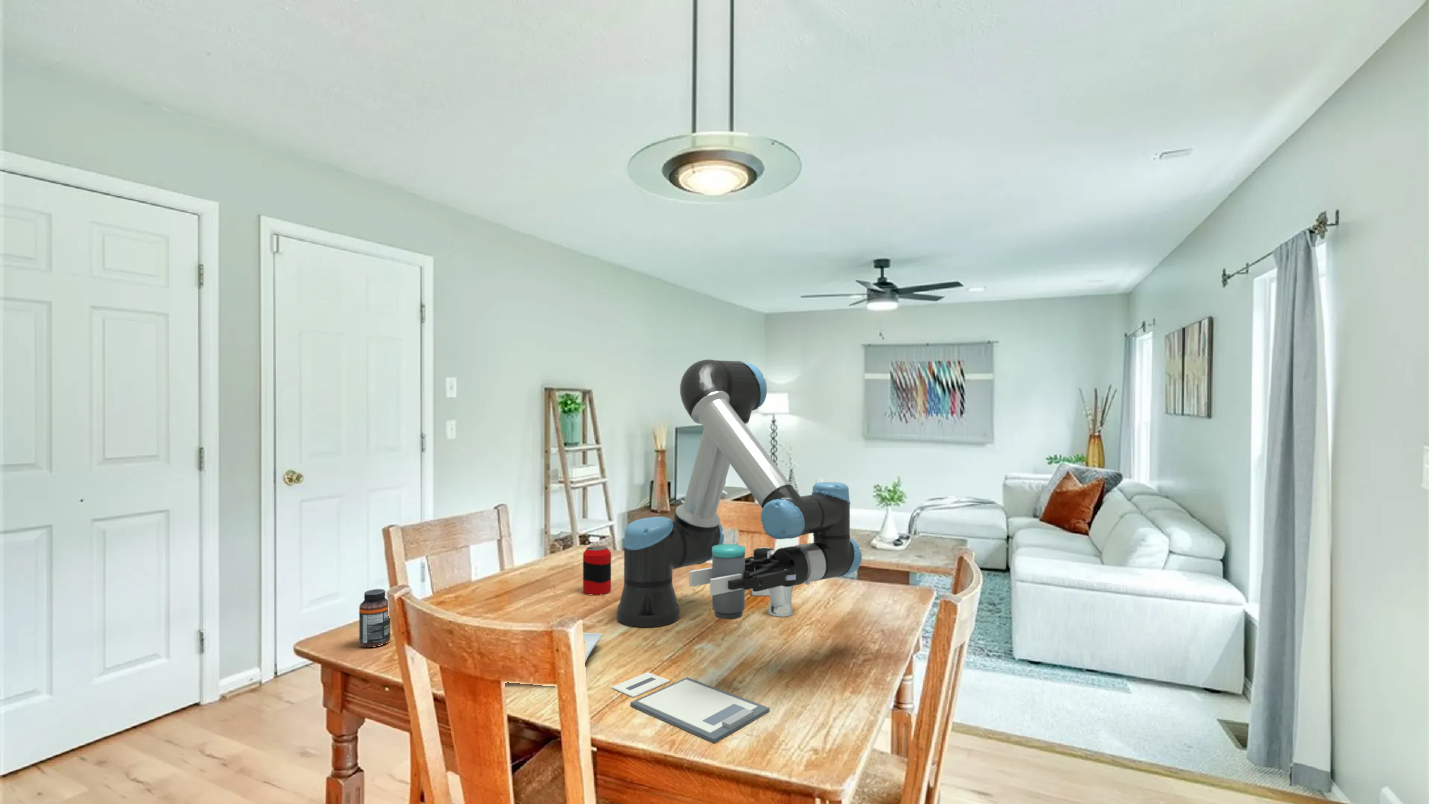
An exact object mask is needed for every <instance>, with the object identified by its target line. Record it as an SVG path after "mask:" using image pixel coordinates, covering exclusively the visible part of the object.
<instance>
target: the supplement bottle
mask: <svg viewBox="0 0 1429 804" xmlns="http://www.w3.org/2000/svg"><path fill="white" fill-rule="evenodd" d="M363 598H364V600H363V601H362V602H361V603H360V604H359V608H358V609H359V610H358V611H359V612H358V614H359V615H358V617H359V619H358V622H359V624H358V625H359V627H358V628H359V631H358V632H359V635H358V637H359V638H358V640H359V646H360V645H361V646H360V647H362V646H363V647H362V648H365V647H373V646H378V645H381V644H385V643H386V642H388V641H389V640H391V617H390V618H389V616H388V600H389V599H388V600H387V598H386V590H385V589H383V588H376V589H375V588H374V589H369V590H366V591H365V592H364V597H363ZM389 642H390V641H389ZM389 642H388V643H389ZM385 645H386V644H385Z"/></svg>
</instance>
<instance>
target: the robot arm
mask: <svg viewBox="0 0 1429 804" xmlns="http://www.w3.org/2000/svg"><path fill="white" fill-rule="evenodd" d="M767 385H768V384H767V381H766V379H765V378H764V374H763V372H762V371H761V369H760V368H759V366H758V367H757V365H755V364H753V363H750V362H745V361H741V360H715V359H702V360H700V361H696V362H694V363H693V364H691V365H690V366H689V367H688V368H687V369H686V370H685V372H684V374H683V375H682V378H681V381H680V384H679V394H680V398H681V399H680V400H681V403H682V405H683V407H684V409H685V410H686V412H687V414H688V415H689V417H690V418H691V420H692V421H693V423H696V424H699V425H702V428H703V431H702V434H701V438H700V442H699V446H698V449H697V453H696V457H695V461H694V464H693V469H692V472H691V475H690V479H689V483H688V486H687V489H686V490H687V491H686V493H685V497H684V502H683V503H681V504H680V505H678V506H676V508H675V512H674V515H673V519H671V518H669V517H666V516H652V517H643V518H640V519H637V520H636V519H635V520H633V521H631V522H630V523H629V524H627V525H626V528H625V529H624V539H623V550H624V551H623V559H624V560H623V564H624V565H623V587H622V588H623V589H622V592H621V596H620V600H619V604H618V605H617V608H616V621H618V622H619V623H621V624H623V625H626V626H631V627H636V628H637V627H638V628H651V627H653V628H654V627H660V626H665V625H669V624H672V623H675V622H677V621H678V620H679V619H680V605H679V603H678V599H677V597H676V593H675V589H674V586H673V585H674V584H673V570H676V569H681V568H685V567H690V566H693V565H701V564H704V563H707V562H709V561H711V560H712V547H713V546H715V545H720V544H724V542H725V538H724V537H725V535H724V533H723V526H722V524H721V518H720V517H719V514H718V513H717V511H718V509H719V504H720V501H721V497H722V495H723V491H724V487H725V484H726V479H727V476H728V473H729V469H730V466H731V467H732V468H733V470H734V471H735V473H736V474H737V476H738V477H739V478H740V479H741V482H743V484H744V485H745V486H746V488H747V489H748V491H749V492H750V493H751V495H752V496H753V497H754V499H755V501H756V502H757V503H758V504H759V506H760V508H761V509H762V510H761V512H760V521H761V524H762V529H763V530H764V532H765V533H766V535H767V536H769V537H770V538H772V539H775V540H787V539H789V540H790V539H791V540H792V539H795V538H798V537H801V536H804V535H809V534H812V536H813V542H808V543H802V544H796V545H792V546H785V547H780V548H778V549H775V550H776V551H775V552H774V554H773V556H772V558H762V559H759V560H755V557H754V556H749V557H745V571H744V578H742V574H734V575H729V576H724V577H718V578H713V579H712V566H711V567H705V568H700V569H694V570H690V571H689V572H688V573H689V578H688V579H689V580H688V582H689V584H688V586H689V587H691V588H692V587H697V586H703V585H708V584H709V595H710V596H712V595H717V594H722V593H727V592H732V591H737V590H742V588H744V589H745V591H749V590H751V589H752V588H753V591H754V592H757V591H761V590H766V589H770V588H774V587H778V586H784V587H790V586H793V587H794V586H798V585H799V586H800V585H802V584H805V585H807V586H809V585H810V584H811V583H813V582H817V581H820V580H826V579H827V580H828V579H833V578H841V577H844V576H847V575H851V574H852V573H855V572H856V571H857V570H859V568H860V567H861V564H862V560H863V555H862V551H861V549H860V545H859V543H858V542H856V541H855V539H853V538H851V535H850V534H851V529H850V528H851V526H850V525H851V523H850V522H851V513H850V512H851V508H850V507H851V501H850V489H849V486H848V485H847V484H846V483H843V482H835V481H834V482H833V481H825V482H816V483H814V485H813V486H812V492H811V494H809V495H800V494H799V493H798V491H797V490H796V488H794V486H793V485H792V484H791V482H790V481H789V479H787V477H786V476H785V475H784V473H783V472H782V471H781V469H780V468H779V467H778V466H777V464H776V463H775V461H774V460H773V459H772V458H771V456H770V455H769V454H768V452H767V451H766V450H765V448H764V447H763V446H762V444H761V443H760V442H759V441H758V439H757V438H756V436H755V435H754V434H753V432H751V430H750V429H749V428H748V426H747V424H748V423H749V421H750V418H751V415H752V412H753V411H756V410H757V409H759V408H761V407H762V406H763V404H764V403H765V400H766V398H767V392H768V388H767V387H768V386H767ZM759 585H761V586H759Z"/></svg>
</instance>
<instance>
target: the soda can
mask: <svg viewBox="0 0 1429 804" xmlns="http://www.w3.org/2000/svg"><path fill="white" fill-rule="evenodd" d="M582 560H583V561H582V591H583V594H585V593H586V594H585V595H587V594H593V595H592V596H601V595H600V594H603V595H607V594H609V593H610V592H611V591H612V552H611V550H610V549H609V548H608V547H607V546H604V545H593V546H589V547H587V548H586V549H585V550H584V552H583V553H582Z"/></svg>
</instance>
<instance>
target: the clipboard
mask: <svg viewBox="0 0 1429 804" xmlns="http://www.w3.org/2000/svg"><path fill="white" fill-rule="evenodd" d="M629 703H630V707H632V708H635V709H637V710H638V711H641V712H643V713H645V714H648V715H650V716H651V717H654V718H657V719H659V720H661V721H663V722H665V723H668V724H669V725H672V726H674V727H677V728H679V729H681V730H683V731H686V732H687V733H690V734H692V735H694V736H697V737H699V738H701V739H704V740H705V741H708V742H710V743H713V744H715V743H718V742H719V741H721V740H723V739H724V738H726V737H728V736H729V735H731V734H733V733H735V732H737V731H738V730H740V729H742V728H744V727H745V726H747V725H749V724H750V723H752V722H754V721H755V720H758V719H759V718H761V717H762V716H764V715H766V714H768V713H770V707H768V706H766V705H763V704H761V703H758V702H754V701H752V700H751V699H747V698H744V697H741V696H739V695H736V694H734V693H730V692H728V691H725V690H722V689H720V688H718V687H714V686H712V685H709V684H706V683H703V682H701V681H698V680H696V679H693V678H690V677H688V676H686V677H684V678H683V679H680V680H678V681H676V682H673V683H670V684H669V685H666V686H664V687H662V688H659V689H658V690H655V691H653V692H651V693H649V694H646V695H643V696H642V697H640V698H637V699H635V700H632V701H630V702H629Z"/></svg>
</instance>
